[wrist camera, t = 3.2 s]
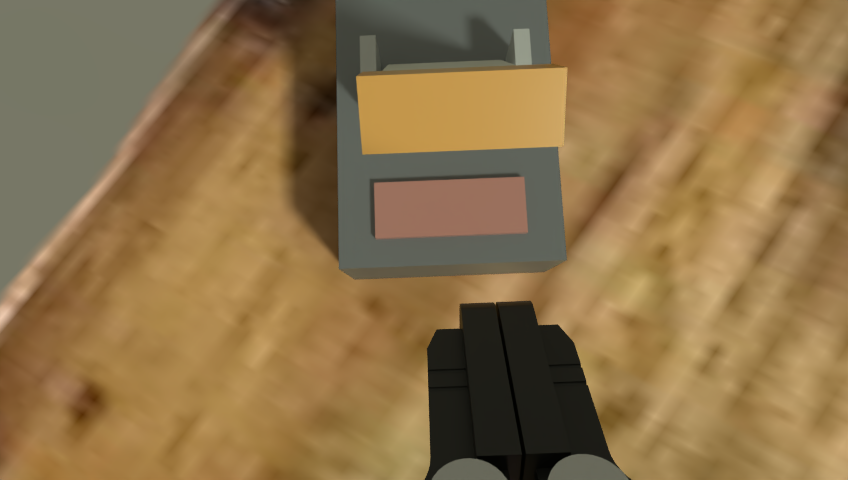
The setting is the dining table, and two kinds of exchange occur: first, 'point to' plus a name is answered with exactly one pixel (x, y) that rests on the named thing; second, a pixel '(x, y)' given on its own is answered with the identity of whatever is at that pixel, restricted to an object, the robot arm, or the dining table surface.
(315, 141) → the dining table surface
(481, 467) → the robot arm
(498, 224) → the switch box
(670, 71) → the dining table surface
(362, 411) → the dining table surface
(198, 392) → the dining table surface
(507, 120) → the lever
